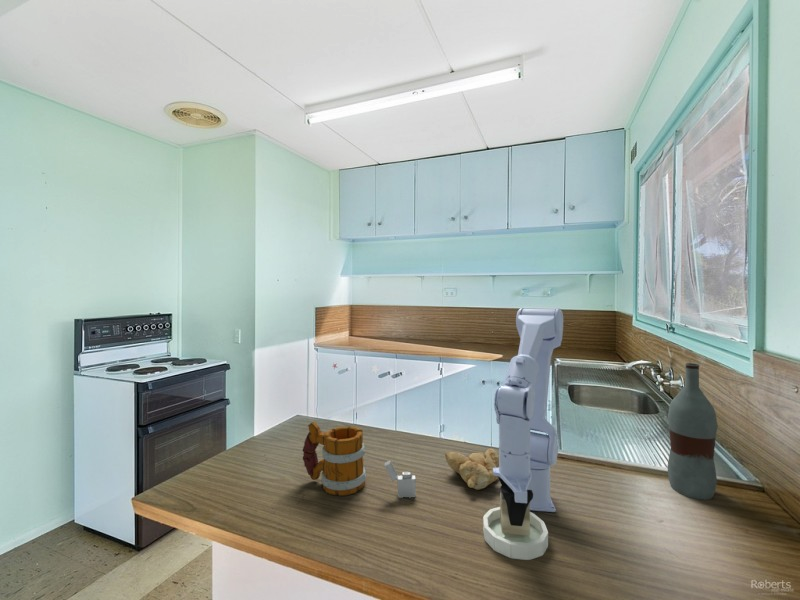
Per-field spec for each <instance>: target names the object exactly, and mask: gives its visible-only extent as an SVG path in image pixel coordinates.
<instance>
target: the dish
mask: <svg viewBox="0 0 800 600" xmlns="http://www.w3.org/2000/svg"><path fill="white" fill-rule="evenodd" d="M482 531H483V540H484V541H485V542H486V543H487V544H488V545H489V547H490V548H491V549H492V550H493V551H494V552H496V553H498V554H501V555H502V556H505V557H507V558H509V559H513V560H514V559H515V560H523V561H531V560H533V559H536V558H537V559H538V558H540V557H542V556H543V555H544V554H545V553H546V551H547V549H548V547H549V530H548V529H547V526H546V523H545V521H544V520H542V519H541V518H540V517H539V516H538V515H536V514H535V512H531V511H530V536H529V535H518V534H507V533H502V529H501V524H500V506H497V507H494V508H490V509H489V510H488V511H487V512H486V513H485V514H484V515H483V517H482Z"/></svg>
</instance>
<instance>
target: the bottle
mask: <svg viewBox="0 0 800 600" xmlns="http://www.w3.org/2000/svg"><path fill="white" fill-rule="evenodd" d="M684 377H685V379H684V380H685V382H684V383H685V384H684V386H683V387H682V389H681V390H680V391H679V392H678V393H677V395H675V397H673V399H672V400H671V401H670V402H669V403H670V404H669V405H668V406H669V407H668V413H667V422H668V428H669V430H668V431H669V442H670V443H669V444H670V450H669V455H668V460H667V476H668V481H669V484H670V487H671V489H672V490H674V491H675V492H677V493H679V494H680V495H682V496H685V497H688V498H691V499H696V500H710V499H712V498H713V497H714V495H715V493H716V489H717V482H718V478H717V470H716V464H715V460H714V459H715V458H714V456H715V448H716V438H717V431H718V419H717V414H716V411H715V407H714V406H713V404H712V403H711V402H710V400H709V399H708V398H707V396H706V395H705V394H704V392H703V391H702V389H701V387H700V365H699V364H698V363H694V362H693V363H691V362H686V363H685V375H684Z"/></svg>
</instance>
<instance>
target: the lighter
mask: <svg viewBox="0 0 800 600" xmlns="http://www.w3.org/2000/svg"><path fill="white" fill-rule="evenodd" d="M384 468H385V469H386V472H387V474H388V476H389V478H390V479H391V482H395V481H396V480H397V498H398V499H403V497H409V498H411V497H415V498H416V489H417V488H416V486H417V485H416V480H417V479H416V475H413V474H412V473H411V472H410V471H402V474H401V475H398V473H397V472H396V469H395V467H394V465H393V463H392V461H391V460H388V461H386V462H384ZM409 498H408V499H409Z"/></svg>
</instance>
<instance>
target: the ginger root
mask: <svg viewBox="0 0 800 600" xmlns="http://www.w3.org/2000/svg"><path fill="white" fill-rule="evenodd" d="M444 457H445V460H446V462H447V464H448V466H449V467H450V468H451V469H452V470H453V471H454V472H456V474H459V475H460V476H461V479H462V480H463V481H464V482H465V483H466V484H467V486H468V488H471V489H474V490H477V491H478V490H483V489H485V488H486V487H488V486H489V485H491V484H492V483H494V482H496V481H497V480H498V476H494V475H493V468H499V452H498V451H496V450H495V449H493V448H490V447H489V448H488V449H487V450H486V451H485V453H483V452H472V453H470V454H469V456H466V455H465V454H462V453H460V452H457V451H456V452H455V451H449V452H445V453H444Z"/></svg>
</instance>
